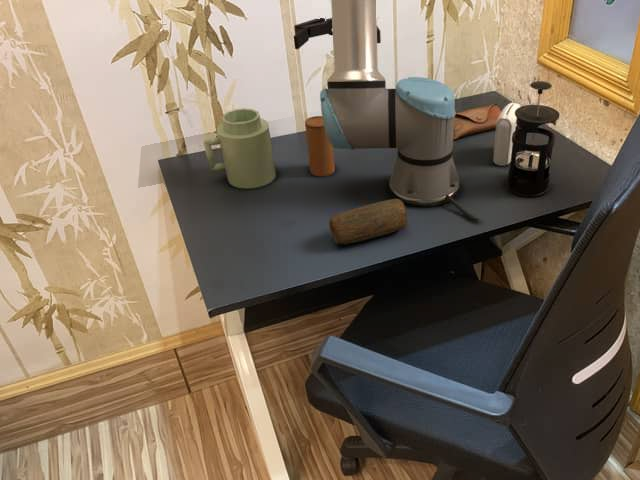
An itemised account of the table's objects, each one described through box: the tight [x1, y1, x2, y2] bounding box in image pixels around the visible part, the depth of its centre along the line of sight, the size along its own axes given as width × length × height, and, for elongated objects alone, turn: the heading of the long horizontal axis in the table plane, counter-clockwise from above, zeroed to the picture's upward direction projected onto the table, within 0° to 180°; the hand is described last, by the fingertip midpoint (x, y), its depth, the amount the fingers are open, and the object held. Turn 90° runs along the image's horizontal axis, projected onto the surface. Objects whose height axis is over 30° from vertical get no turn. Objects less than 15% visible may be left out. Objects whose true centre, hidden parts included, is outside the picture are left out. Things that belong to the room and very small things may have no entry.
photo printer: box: [492, 102, 522, 167], centre depth 144 cm, size 10×4×12 cm, turn 157°
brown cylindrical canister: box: [304, 115, 336, 177], centre depth 140 cm, size 6×6×12 cm
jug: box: [203, 107, 277, 189], centre depth 137 cm, size 11×14×14 cm
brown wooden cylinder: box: [328, 198, 408, 245], centre depth 121 cm, size 15×7×7 cm, turn 117°
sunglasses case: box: [453, 103, 502, 140], centre depth 159 cm, size 18×7×7 cm, turn 118°
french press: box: [505, 80, 561, 198], centre depth 130 cm, size 12×9×23 cm
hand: (325, 45), depth 133 cm, fingers open, 13 cm apart
